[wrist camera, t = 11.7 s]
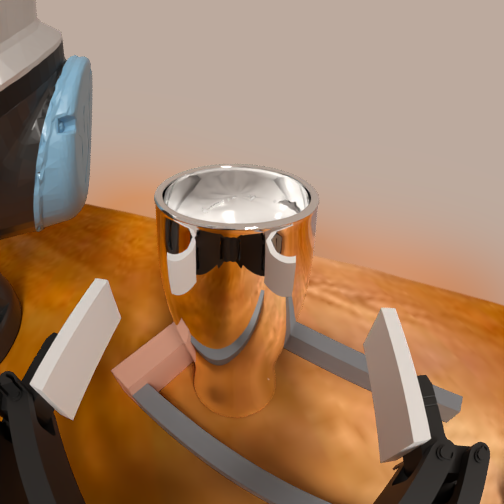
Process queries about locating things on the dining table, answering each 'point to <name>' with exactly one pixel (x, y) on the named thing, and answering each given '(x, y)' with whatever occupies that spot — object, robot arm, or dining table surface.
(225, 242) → the shiny metal tumbler
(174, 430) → the guide channel
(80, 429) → the dining table surface
